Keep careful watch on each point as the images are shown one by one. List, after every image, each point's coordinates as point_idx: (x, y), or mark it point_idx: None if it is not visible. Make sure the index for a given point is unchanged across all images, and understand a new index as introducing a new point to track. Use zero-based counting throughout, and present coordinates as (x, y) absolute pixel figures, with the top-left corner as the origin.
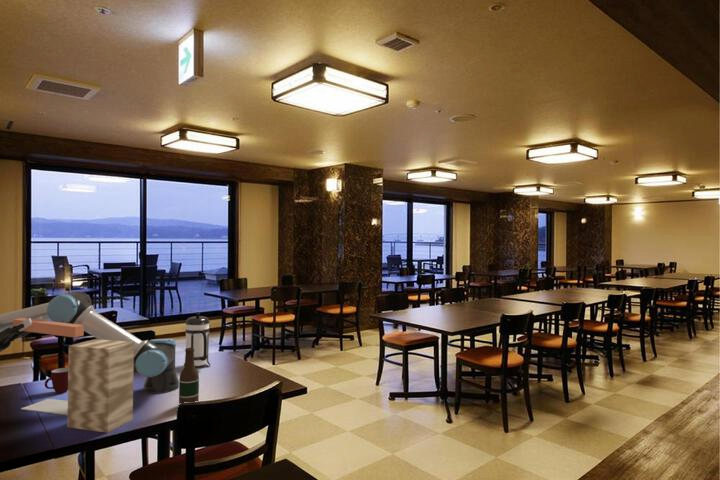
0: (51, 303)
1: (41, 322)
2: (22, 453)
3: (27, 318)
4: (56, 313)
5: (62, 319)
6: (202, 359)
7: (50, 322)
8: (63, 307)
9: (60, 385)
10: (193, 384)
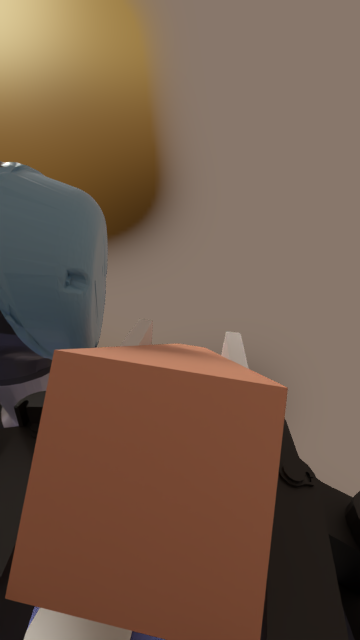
0: (98, 231)
1: (206, 351)
2: None
3: (107, 347)
4: (96, 302)
5: (97, 335)
6: None
7: (187, 347)
8: (103, 274)
9: None
10: None
